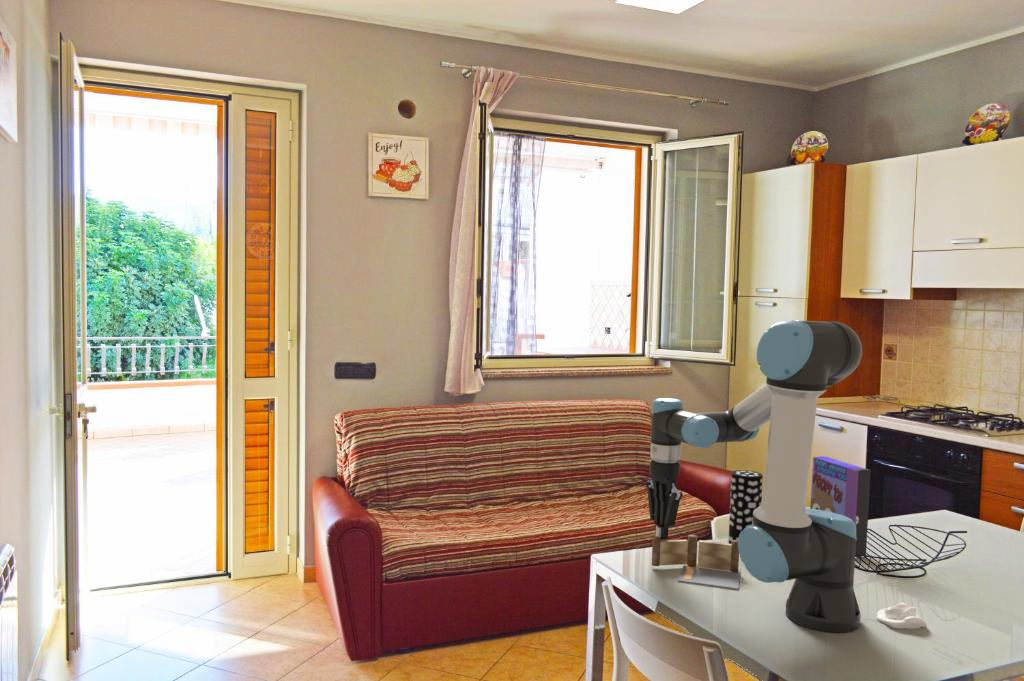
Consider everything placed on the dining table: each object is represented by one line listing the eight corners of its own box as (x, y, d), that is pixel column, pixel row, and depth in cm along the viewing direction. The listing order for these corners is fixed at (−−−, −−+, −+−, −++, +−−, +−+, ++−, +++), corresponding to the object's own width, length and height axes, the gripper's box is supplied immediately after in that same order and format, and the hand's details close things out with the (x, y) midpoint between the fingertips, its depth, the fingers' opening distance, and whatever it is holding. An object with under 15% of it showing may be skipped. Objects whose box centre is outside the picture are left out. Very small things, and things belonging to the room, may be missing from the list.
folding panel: (684, 562, 203) (685, 535, 202) (687, 564, 201) (688, 537, 200) (650, 563, 201) (651, 536, 200) (653, 566, 199) (654, 539, 198)
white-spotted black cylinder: (752, 550, 217) (756, 478, 215) (723, 544, 222) (727, 473, 220) (763, 543, 223) (767, 473, 222) (735, 537, 228) (738, 468, 227)
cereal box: (808, 538, 229) (813, 456, 228) (822, 537, 231) (826, 456, 229) (851, 558, 213) (856, 470, 211) (865, 557, 214) (870, 469, 213)
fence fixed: (738, 571, 200) (739, 540, 199) (738, 574, 197) (739, 543, 197) (687, 564, 204) (688, 534, 203) (686, 567, 201) (687, 536, 201)
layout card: (740, 570, 200) (740, 568, 200) (738, 590, 187) (738, 588, 187) (684, 563, 205) (684, 561, 205) (678, 581, 191) (678, 579, 191)
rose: (920, 616, 164) (871, 604, 170) (919, 637, 164) (870, 624, 170) (932, 603, 171) (884, 591, 178) (930, 623, 172) (883, 610, 178)
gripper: (638, 455, 204) (634, 544, 206) (667, 466, 193) (663, 560, 194) (662, 453, 207) (658, 541, 209) (692, 464, 196) (688, 557, 198)
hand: (660, 550), depth 202 cm, fingers closed
